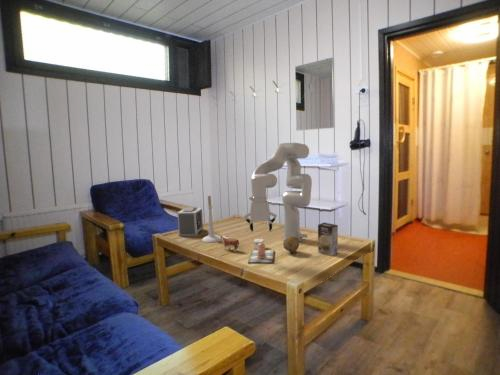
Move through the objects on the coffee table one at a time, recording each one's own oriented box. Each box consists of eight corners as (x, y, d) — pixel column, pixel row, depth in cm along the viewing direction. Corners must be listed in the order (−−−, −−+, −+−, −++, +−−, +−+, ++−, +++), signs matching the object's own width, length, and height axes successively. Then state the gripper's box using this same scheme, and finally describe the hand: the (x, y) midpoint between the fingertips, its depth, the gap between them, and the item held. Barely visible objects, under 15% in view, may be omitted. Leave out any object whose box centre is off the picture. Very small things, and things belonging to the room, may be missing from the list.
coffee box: (317, 252, 170) (317, 224, 168) (323, 249, 175) (323, 222, 173) (332, 256, 164) (331, 227, 162) (338, 253, 168) (338, 224, 166)
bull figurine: (224, 246, 187) (223, 233, 186) (240, 250, 179) (240, 237, 178) (219, 248, 184) (218, 235, 183) (235, 253, 175) (235, 239, 174)
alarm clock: (196, 236, 213) (194, 210, 210) (178, 236, 215) (176, 210, 212) (204, 229, 231) (202, 205, 228) (187, 229, 233) (185, 205, 230)
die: (263, 247, 184) (263, 238, 183) (262, 249, 179) (262, 241, 178) (255, 247, 185) (254, 239, 184) (254, 249, 180) (254, 241, 179)
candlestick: (199, 239, 206) (196, 195, 202) (217, 235, 211) (214, 192, 207) (205, 244, 194) (202, 197, 190) (224, 240, 200) (222, 195, 196)
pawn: (266, 255, 166) (265, 241, 165) (265, 258, 162) (265, 244, 161) (257, 255, 167) (257, 241, 166) (257, 258, 162) (256, 244, 161)
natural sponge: (291, 256, 165) (290, 239, 164) (280, 252, 173) (279, 235, 171) (302, 252, 171) (302, 235, 169) (291, 249, 178) (291, 232, 177)
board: (274, 251, 175) (274, 250, 175) (273, 263, 157) (273, 261, 157) (252, 251, 176) (251, 250, 176) (248, 263, 159) (248, 261, 159)
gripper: (242, 201, 158) (244, 233, 161) (275, 200, 156) (277, 232, 158) (244, 198, 165) (246, 229, 168) (276, 197, 163) (277, 228, 166)
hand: (261, 230), depth 163 cm, fingers open, 9 cm apart
